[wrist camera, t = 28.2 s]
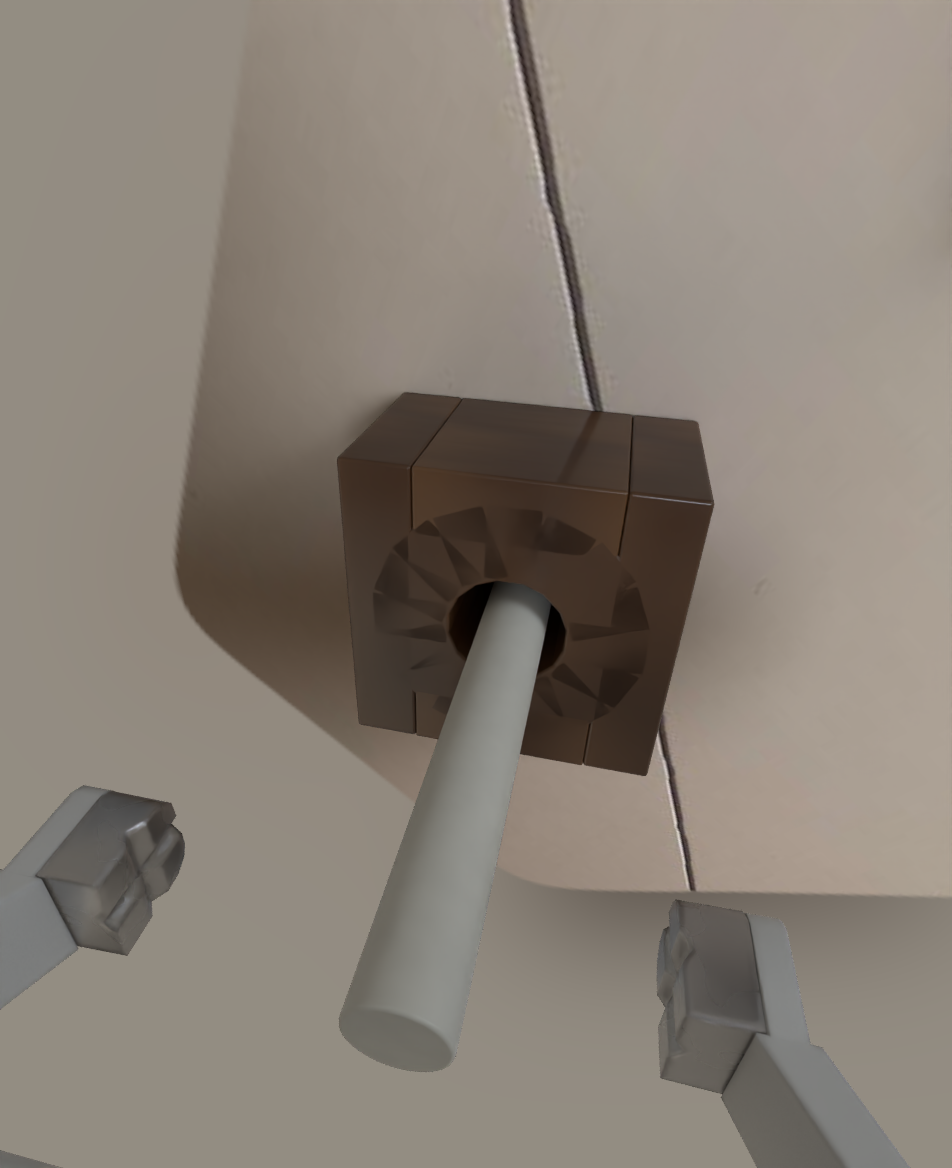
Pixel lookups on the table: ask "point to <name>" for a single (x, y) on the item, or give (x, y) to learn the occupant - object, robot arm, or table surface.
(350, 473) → the pen block
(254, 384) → the table surface
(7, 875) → the robot arm
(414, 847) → the stylus
